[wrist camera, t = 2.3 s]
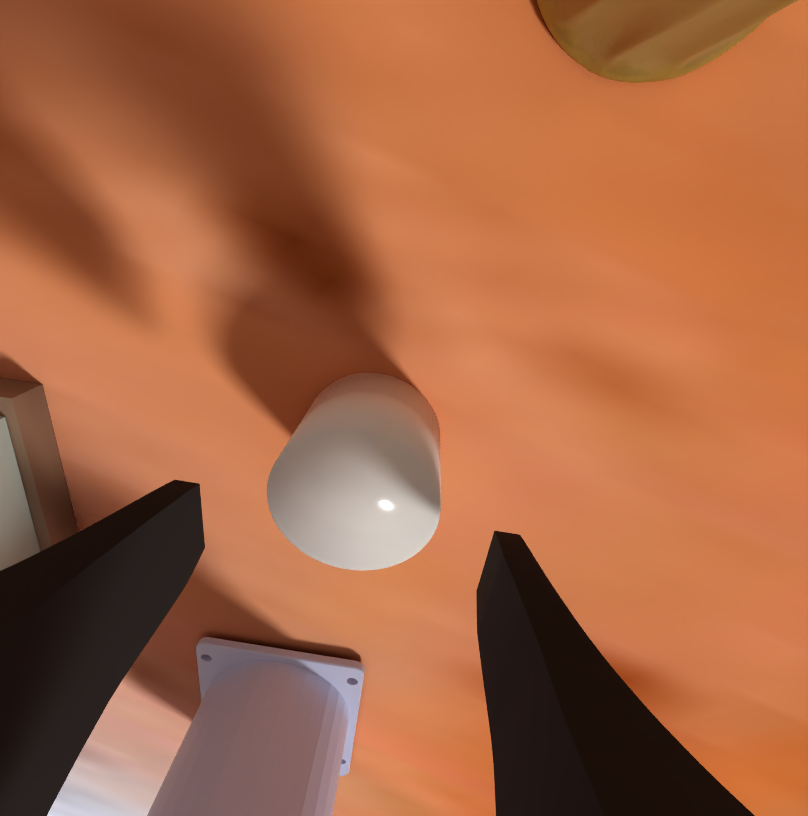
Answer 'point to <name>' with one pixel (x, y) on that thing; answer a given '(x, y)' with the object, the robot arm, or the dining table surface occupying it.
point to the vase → (651, 33)
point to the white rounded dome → (360, 475)
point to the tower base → (38, 460)
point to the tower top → (13, 508)
